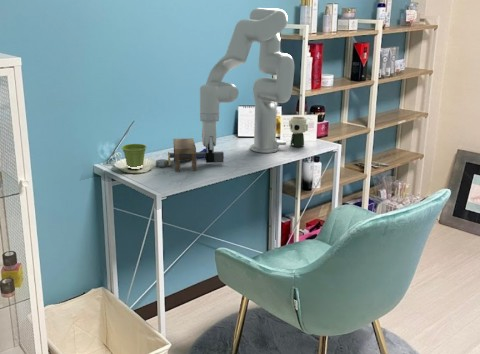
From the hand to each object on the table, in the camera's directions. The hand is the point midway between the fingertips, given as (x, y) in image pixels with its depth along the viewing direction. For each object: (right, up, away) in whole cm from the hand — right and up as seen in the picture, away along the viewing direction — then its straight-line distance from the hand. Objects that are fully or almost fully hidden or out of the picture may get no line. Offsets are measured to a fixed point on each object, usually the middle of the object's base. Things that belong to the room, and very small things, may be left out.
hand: (209, 161), depth 220 cm
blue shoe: (-6, +2, +10) cm, 12 cm away
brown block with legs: (-10, -2, -1) cm, 10 cm away
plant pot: (-29, -3, -5) cm, 30 cm away
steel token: (-19, -2, -2) cm, 19 cm away
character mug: (+38, +8, +29) cm, 49 cm away
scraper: (-5, -1, -1) cm, 6 cm away
